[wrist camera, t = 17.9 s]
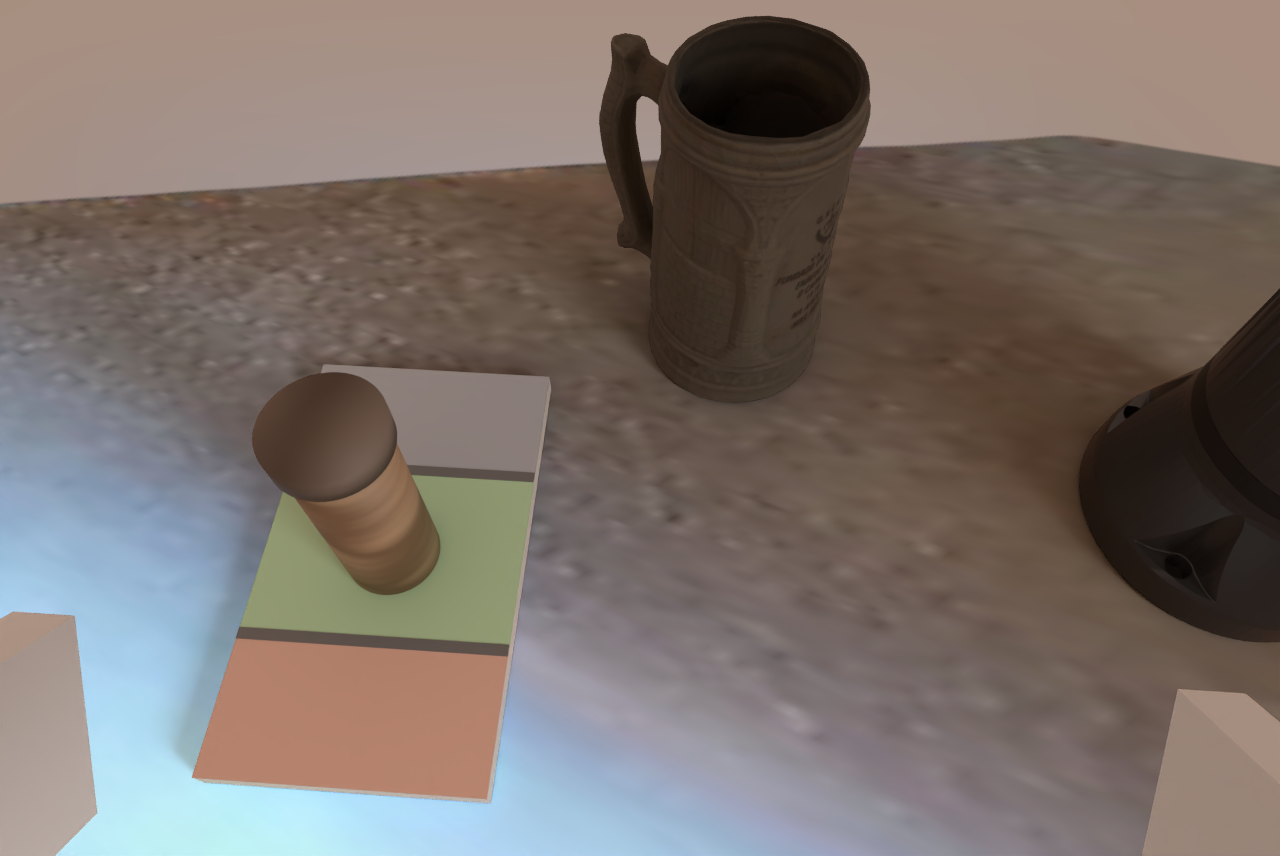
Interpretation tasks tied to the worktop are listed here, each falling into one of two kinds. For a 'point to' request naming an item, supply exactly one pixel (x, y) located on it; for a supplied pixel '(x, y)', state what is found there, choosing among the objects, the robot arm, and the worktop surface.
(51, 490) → the worktop surface
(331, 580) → the gauge board
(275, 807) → the worktop surface
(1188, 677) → the worktop surface
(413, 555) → the wooden dark-capped post
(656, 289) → the beer stein
